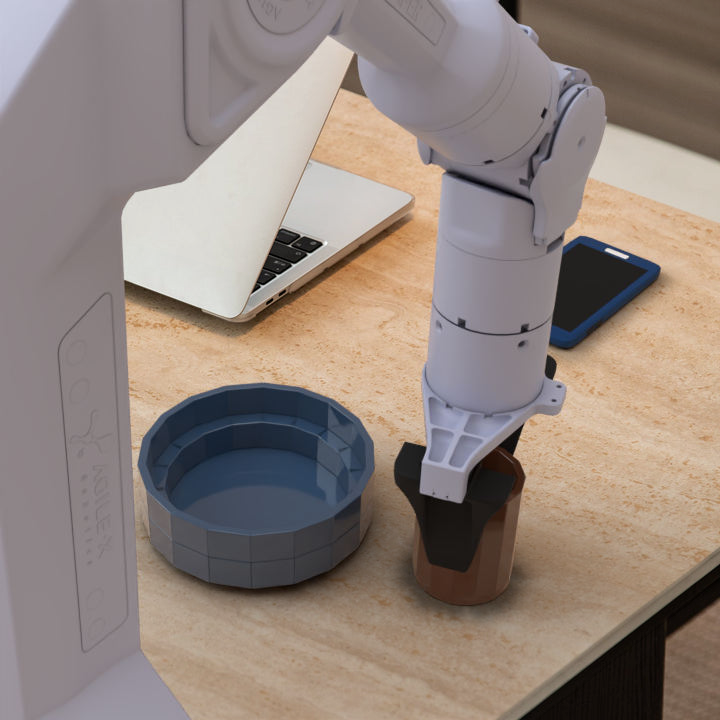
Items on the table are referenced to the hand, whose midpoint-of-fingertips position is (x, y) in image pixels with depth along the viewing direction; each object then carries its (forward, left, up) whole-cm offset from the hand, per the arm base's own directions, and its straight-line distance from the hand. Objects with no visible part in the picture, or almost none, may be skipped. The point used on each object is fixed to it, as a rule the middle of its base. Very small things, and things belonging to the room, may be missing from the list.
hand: (468, 515), depth 66 cm
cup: (0, 0, -4) cm, 4 cm away
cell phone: (+30, +5, -4) cm, 31 cm away
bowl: (-2, +12, -4) cm, 13 cm away
